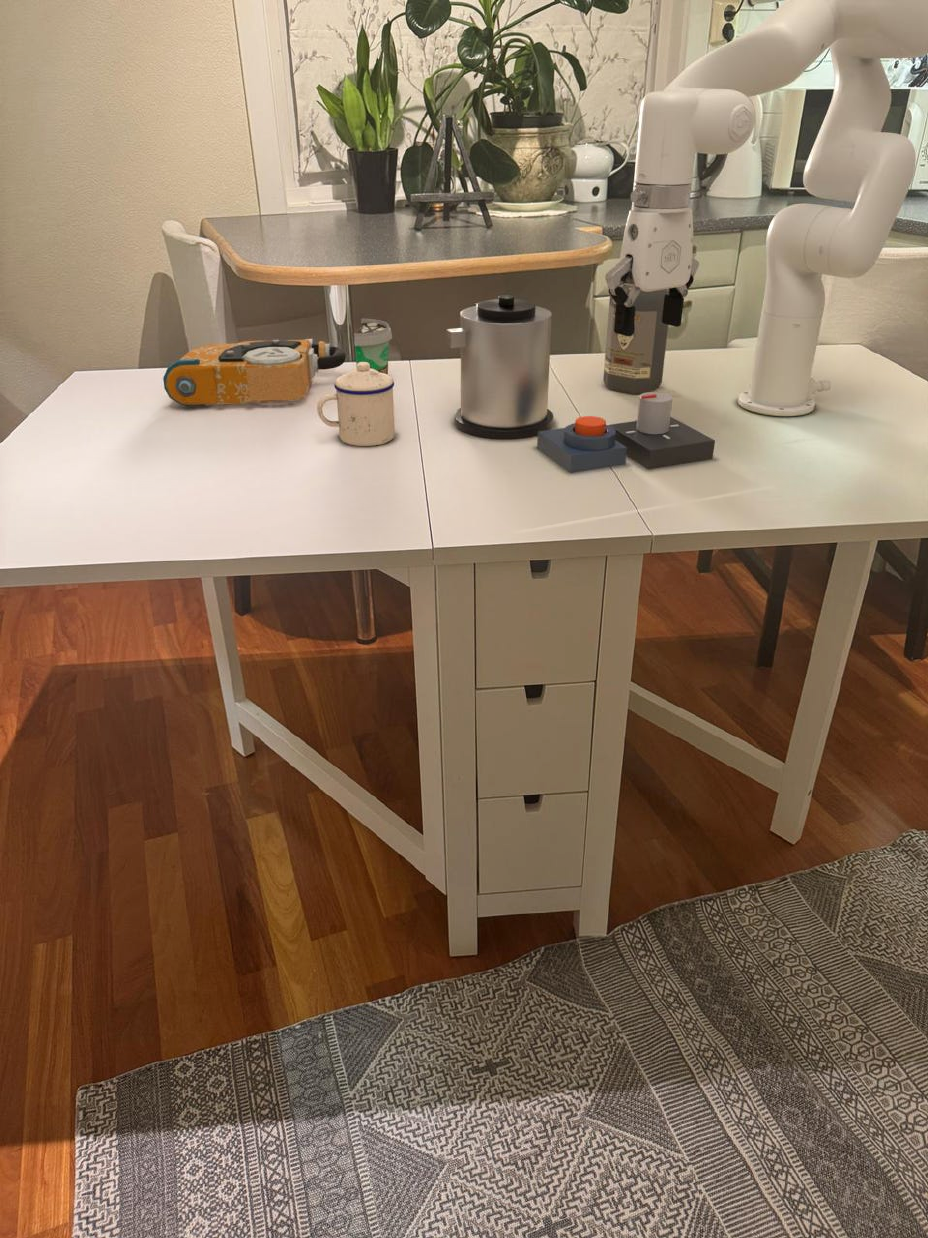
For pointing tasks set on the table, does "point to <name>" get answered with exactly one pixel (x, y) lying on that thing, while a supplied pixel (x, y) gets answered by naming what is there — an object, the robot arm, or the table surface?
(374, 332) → the food container
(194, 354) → the device
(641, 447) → the console
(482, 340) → the kettle
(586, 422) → the button
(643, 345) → the liquor
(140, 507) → the table surface
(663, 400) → the dial
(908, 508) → the table surface
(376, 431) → the teacup with lid
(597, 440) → the button housing
